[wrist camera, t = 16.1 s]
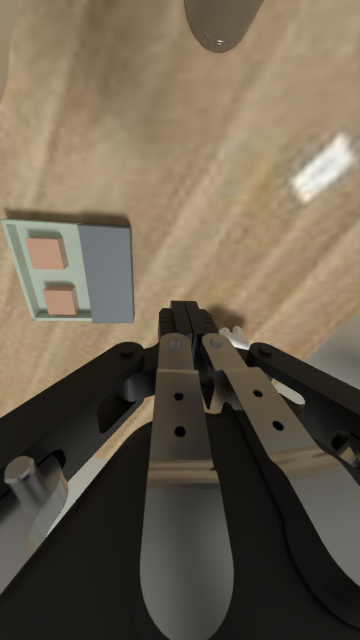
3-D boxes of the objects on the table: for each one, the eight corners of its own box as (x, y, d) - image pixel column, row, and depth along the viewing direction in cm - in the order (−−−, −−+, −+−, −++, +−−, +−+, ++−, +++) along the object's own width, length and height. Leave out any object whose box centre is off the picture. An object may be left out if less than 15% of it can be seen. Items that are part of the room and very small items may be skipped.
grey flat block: (84, 223, 36) (77, 225, 32) (131, 226, 37) (129, 228, 33) (97, 314, 44) (92, 323, 41) (134, 314, 45) (133, 323, 42)
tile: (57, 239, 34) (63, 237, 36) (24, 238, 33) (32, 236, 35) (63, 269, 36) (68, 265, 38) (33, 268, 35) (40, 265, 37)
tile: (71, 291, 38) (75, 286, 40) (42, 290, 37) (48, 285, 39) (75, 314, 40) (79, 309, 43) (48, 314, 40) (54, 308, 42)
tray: (11, 218, 34) (0, 219, 31) (82, 223, 36) (76, 224, 33) (39, 313, 43) (32, 320, 40) (95, 313, 44) (92, 320, 42)
